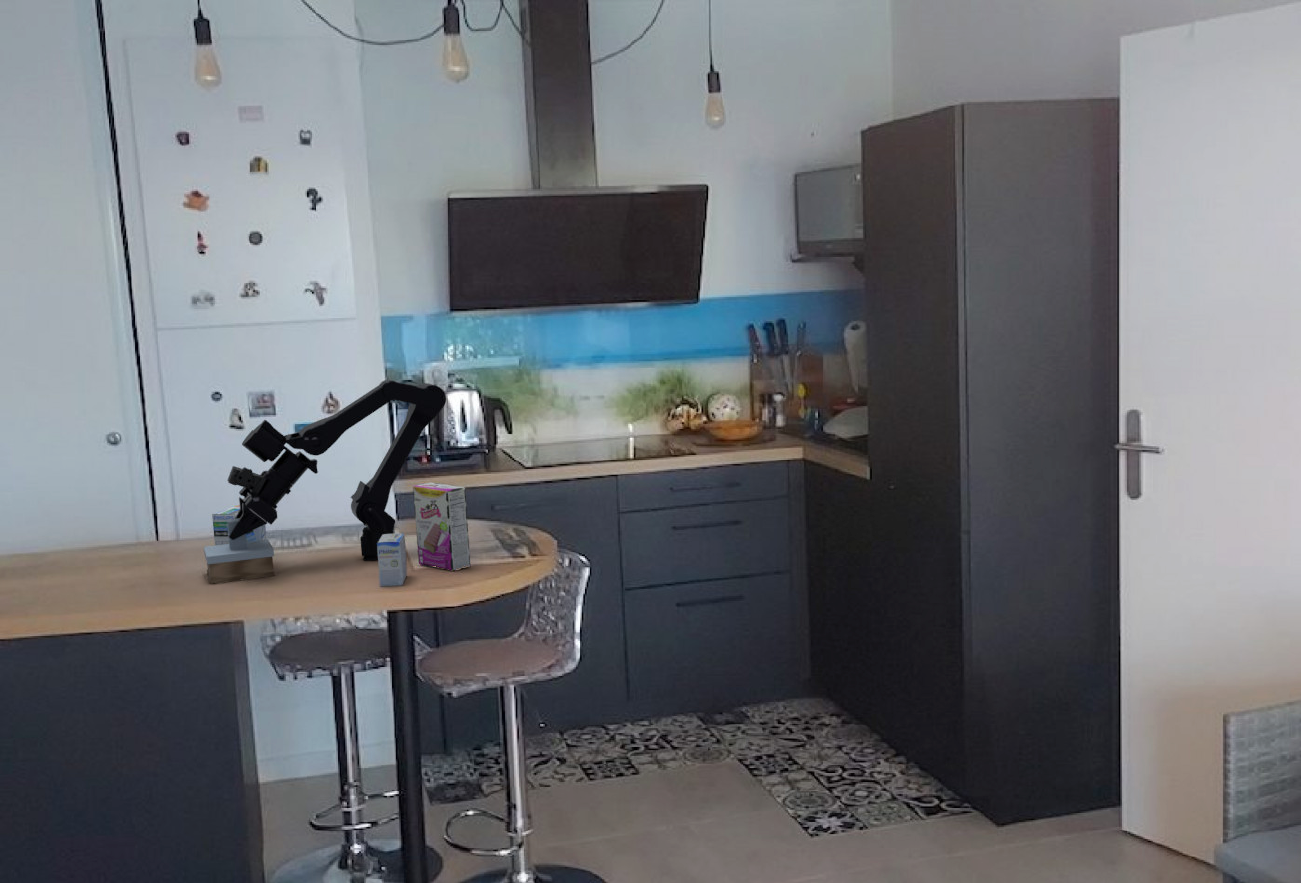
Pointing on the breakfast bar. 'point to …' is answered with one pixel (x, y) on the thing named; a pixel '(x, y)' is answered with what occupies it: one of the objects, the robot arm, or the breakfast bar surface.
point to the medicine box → (392, 559)
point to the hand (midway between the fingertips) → (229, 536)
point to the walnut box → (240, 570)
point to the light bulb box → (222, 528)
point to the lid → (238, 548)
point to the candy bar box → (441, 525)
